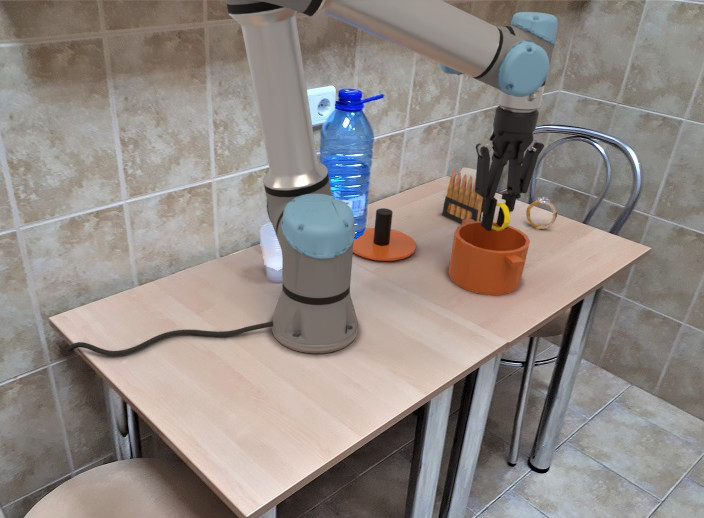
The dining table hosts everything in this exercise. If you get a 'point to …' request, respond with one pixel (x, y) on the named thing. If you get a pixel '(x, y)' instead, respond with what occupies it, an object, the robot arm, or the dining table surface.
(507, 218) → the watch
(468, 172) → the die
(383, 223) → the lid
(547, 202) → the ring
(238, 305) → the dining table surface
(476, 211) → the ammunition clip
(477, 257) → the pot
